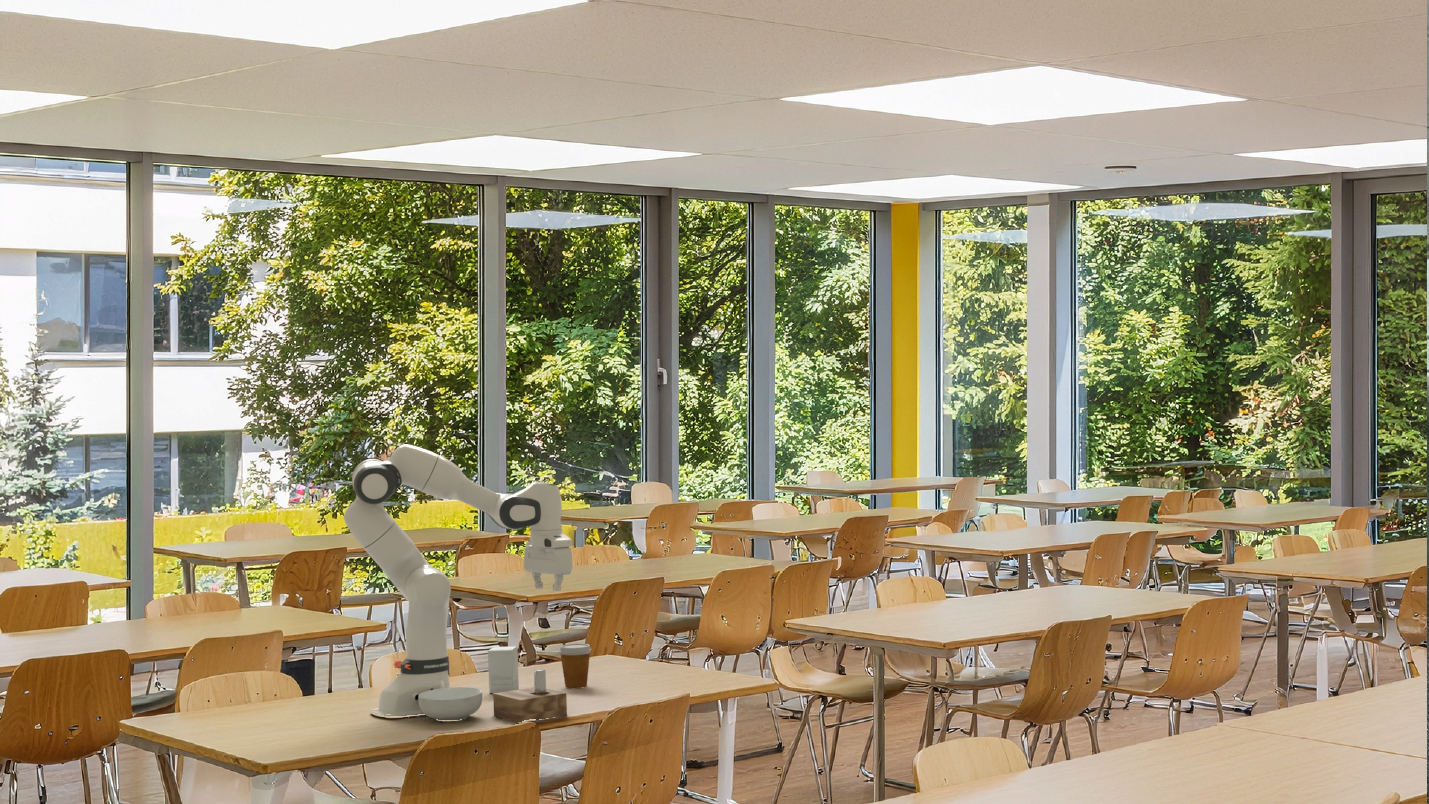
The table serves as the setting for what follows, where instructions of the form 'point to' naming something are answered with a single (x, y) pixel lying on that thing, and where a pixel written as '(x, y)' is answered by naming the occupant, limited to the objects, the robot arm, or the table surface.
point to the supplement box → (503, 669)
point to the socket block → (529, 704)
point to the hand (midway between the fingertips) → (547, 589)
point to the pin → (540, 681)
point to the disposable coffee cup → (575, 664)
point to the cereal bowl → (450, 702)
